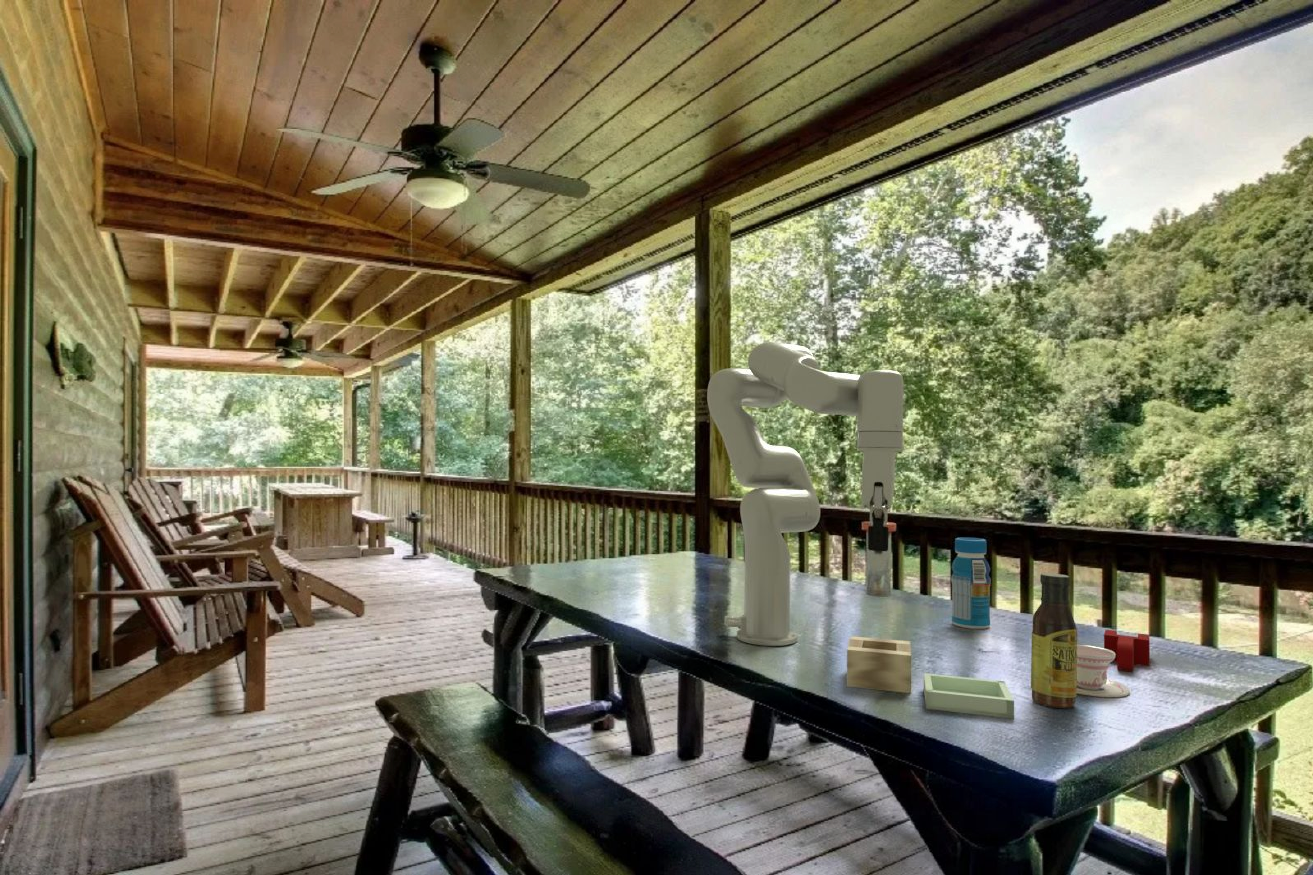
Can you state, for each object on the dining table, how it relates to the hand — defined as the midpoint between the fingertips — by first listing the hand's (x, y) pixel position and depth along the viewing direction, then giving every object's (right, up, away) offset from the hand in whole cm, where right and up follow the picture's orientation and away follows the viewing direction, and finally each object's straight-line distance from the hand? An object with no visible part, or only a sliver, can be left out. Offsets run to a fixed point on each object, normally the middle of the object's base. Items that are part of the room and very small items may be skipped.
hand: (878, 547), depth 122 cm
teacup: (+34, -23, -2) cm, 42 cm away
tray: (+10, -22, -12) cm, 27 cm away
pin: (0, -8, 0) cm, 8 cm away
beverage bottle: (+35, -25, +43) cm, 61 cm away
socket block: (0, -23, -1) cm, 23 cm away
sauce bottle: (+24, -23, -11) cm, 35 cm away
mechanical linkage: (+51, -24, +13) cm, 58 cm away
